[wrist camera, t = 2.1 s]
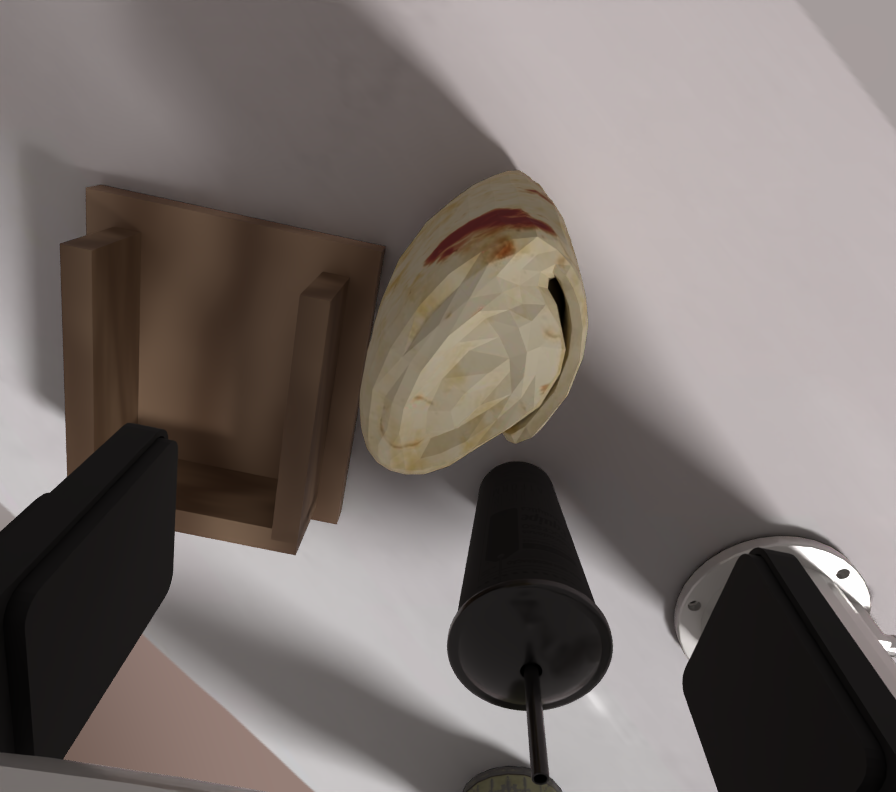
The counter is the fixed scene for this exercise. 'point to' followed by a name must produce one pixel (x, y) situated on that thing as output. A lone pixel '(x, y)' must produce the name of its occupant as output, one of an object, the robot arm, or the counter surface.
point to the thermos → (508, 781)
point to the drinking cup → (526, 607)
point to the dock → (220, 356)
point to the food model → (474, 329)
